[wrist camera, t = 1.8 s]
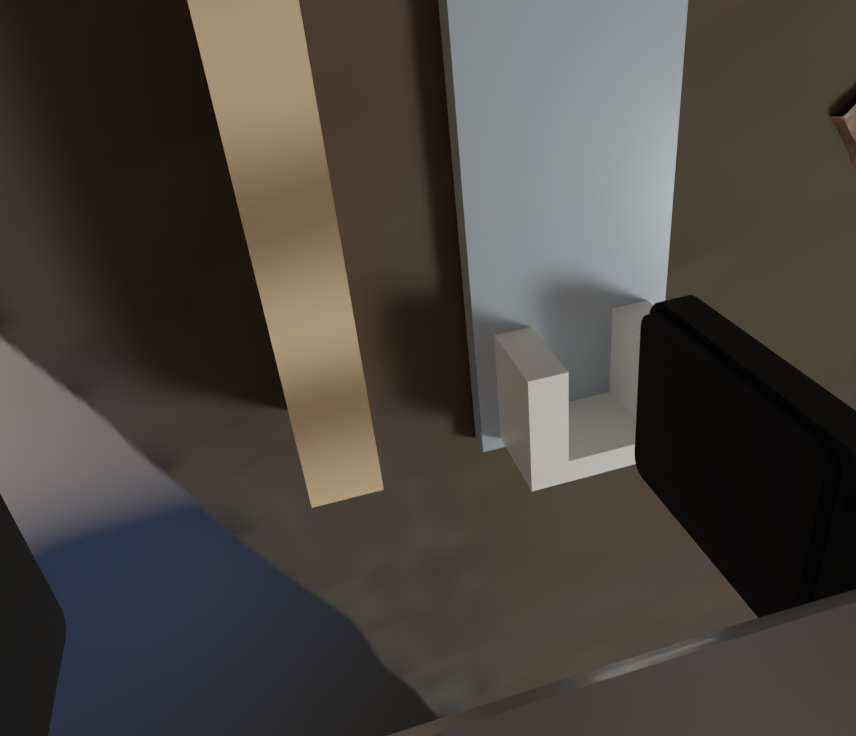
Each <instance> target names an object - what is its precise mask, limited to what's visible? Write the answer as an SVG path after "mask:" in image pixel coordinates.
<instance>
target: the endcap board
mask: <svg viewBox="0 0 856 736" xmlns="http://www.w3.org/2000/svg"><path fill="white" fill-rule="evenodd" d="M438 4H439V16H440V28H441V39H442V51H443V63H444V74H445V86H446V98H447V109H448V121H449V133H450V144H451V156H452V168H453V179H454V191H455V202H456V214H457V226H458V237H459V249H460V261H461V272H462V284H463V296H464V307H465V319H466V331H467V342H468V354H469V365H470V377H471V389H472V400H473V412H474V424H475V435H476V440H477V442H478V444H479V445H480V447H481V449H482V451H483V452H486V451H490V450H494V449H498V448H502V447H506V448H507V450H508V452H509V453H510V455H511V457H512V458H513V460H514V462H515V464H516V465H517V467H518V469H519V470H520V472H521V474H522V475H523V477H524V479H525V481H526V482H527V484H528V486H529V487H530V489H531V491H535V490H539V489H543V488H547V487H550V486H554V485H558V484H562V483H566V482H569V481H573V480H577V479H581V478H584V477H588V476H592V475H596V474H599V473H603V472H607V471H611V470H614V469H618V468H622V467H626V466H629V465H633V464H636V462H635V454H634V453H635V432H636V412H637V391H638V370H639V350H640V329H641V321H642V319H643V317H644V316H645V315H648V314H650V310H651V308H652V306H653V305H654V304H655V303H658V302H662V301H665V296H666V283H667V270H668V257H669V244H670V231H671V218H672V205H673V191H674V178H675V165H676V152H677V139H678V126H679V113H680V100H681V86H682V73H683V60H684V47H685V34H686V21H687V8H688V0H438Z"/></svg>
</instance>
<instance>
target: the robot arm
mask: <svg viewBox="0 0 856 736" xmlns="http://www.w3.org/2000/svg"><path fill="white" fill-rule="evenodd" d="M634 454H635V462H636V466H637V469H638V471H639V473H640V475H641V477H642V478H643V479H644V481H645V482H646V483H647V484H648V485H649V487H650V488H651V489H652V490H653V492H654V493H655V494H656V495H657V496H658V498H659V499H660V500H661V501H662V502H663V504H664V505H665V506H666V507H667V508H668V510H669V511H670V512H671V513H672V514H673V516H674V517H675V518H676V519H677V520H678V522H679V523H680V524H681V525H682V526H683V528H684V529H685V530H686V531H687V532H688V534H689V535H690V536H691V537H692V538H693V540H694V541H695V542H696V543H697V544H698V546H699V547H700V548H701V549H702V550H703V552H704V553H705V554H706V555H707V556H708V558H709V559H710V560H711V561H712V562H713V564H714V565H715V566H716V567H717V569H718V570H719V571H720V572H721V573H722V575H723V576H724V577H725V578H726V579H727V581H728V582H729V583H730V584H731V585H732V587H733V588H734V589H735V590H736V591H737V593H738V594H739V595H740V596H741V597H742V599H743V600H744V601H745V602H746V603H747V605H748V606H749V607H750V608H751V609H752V611H753V612H754V613H755V614H756V615H757V617H758V618H757V619H754V620H750V621H747V622H744V623H741V624H738V625H735V626H731V627H728V628H725V629H722V630H719V631H715V632H712V633H709V634H706V635H703V636H699V637H696V638H693V639H690V640H687V641H684V642H680V643H677V644H674V645H671V646H668V647H664V648H661V649H658V650H655V651H652V652H649V653H645V654H642V655H639V656H636V657H633V658H629V659H626V660H623V661H620V662H617V663H614V664H610V665H607V666H604V667H601V668H598V669H594V670H591V671H588V672H585V673H582V674H579V675H575V676H572V677H569V678H566V679H563V680H560V681H557V682H554V683H550V684H547V685H544V686H541V687H538V688H535V689H532V690H528V691H525V692H522V693H519V694H516V695H513V696H510V697H507V698H503V699H500V700H497V701H494V702H491V703H488V704H485V705H482V706H478V707H475V708H472V709H469V710H466V711H463V712H460V713H457V714H453V715H450V716H447V717H444V718H441V719H438V720H435V721H432V722H429V723H426V724H422V725H419V726H416V727H413V728H410V729H407V730H404V731H400V732H398V733H394V734H391V735H388V736H856V411H855V410H854V409H852V408H851V407H850V406H848V405H847V404H845V403H844V402H843V401H841V400H840V399H838V398H837V397H836V396H834V395H833V394H831V393H830V392H829V391H827V390H826V389H824V388H823V387H822V386H820V385H819V384H817V383H816V382H815V381H813V380H812V379H810V378H809V377H808V376H806V375H805V374H803V373H802V372H801V371H799V370H798V369H796V368H795V367H794V366H792V365H791V364H789V363H788V362H787V361H785V360H784V359H782V358H781V357H780V356H778V355H777V354H775V353H774V352H773V351H771V350H770V349H768V348H767V347H766V346H764V345H763V344H761V343H760V342H759V341H757V340H756V339H754V338H753V337H752V336H750V335H749V334H747V333H746V332H745V331H743V330H742V329H740V328H739V327H738V326H736V325H735V324H733V323H732V322H731V321H729V320H728V319H726V318H725V317H724V316H722V315H721V314H719V313H718V312H717V311H715V310H714V309H712V308H711V307H710V306H708V305H707V304H705V303H704V302H703V301H701V300H700V299H698V298H697V297H695V296H693V295H688V296H683V297H679V298H675V299H670V300H666V301H662V302H658V303H655V304H654V305H653V306H652V308H651V310H650V314H648V315H645V316H644V317H643V319H642V321H641V329H640V350H639V370H638V391H637V412H636V432H635V453H634ZM65 637H66V624H65V618H64V615H63V612H62V609H61V607H60V606H59V603H58V601H57V600H56V598H55V596H54V594H53V592H52V590H51V588H50V587H49V585H48V583H47V581H46V579H45V577H44V575H43V573H42V571H41V570H40V568H39V566H38V564H37V562H36V560H35V558H34V556H33V555H32V553H31V551H30V549H29V547H28V546H27V543H26V542H25V540H24V538H23V536H22V534H21V532H20V530H19V528H18V526H17V525H16V523H15V521H14V519H13V517H12V515H11V513H10V512H9V510H8V508H7V506H6V504H5V502H4V500H3V498H2V496H1V494H0V736H48V732H49V726H50V721H51V715H52V709H53V704H54V699H55V693H56V687H57V681H58V677H59V671H60V665H61V660H62V654H63V649H64V644H65Z"/></svg>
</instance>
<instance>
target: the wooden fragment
mask: <svg viewBox="0 0 856 736" xmlns="http://www.w3.org/2000/svg"><path fill="white" fill-rule="evenodd" d="M830 117H831V119H832V120H833V122H834V123H835V124H836V126H837V128H838V130H839V133H840V134H841V136H842V139H843V141H844V143H845V145H846V147H847V149H848V151H849V154H850V157H851V161H852V164H853V167H854V169H855V170H856V105H854V106H853V107H852V109H851V110H850V111H849V112H848V113H846V114H845V115H844V116H830Z"/></svg>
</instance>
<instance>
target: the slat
mask: <svg viewBox="0 0 856 736" xmlns="http://www.w3.org/2000/svg"><path fill="white" fill-rule="evenodd" d="M187 1H188V5H189V10H190V14H191V18H192V22H193V26H194V30H195V34H196V38H197V42H198V46H199V50H200V54H201V58H202V62H203V66H204V71H205V75H206V79H207V83H208V87H209V91H210V95H211V99H212V103H213V107H214V111H215V115H216V119H217V123H218V127H219V132H220V136H221V140H222V144H223V148H224V152H225V156H226V160H227V164H228V168H229V172H230V176H231V180H232V184H233V188H234V193H235V197H236V201H237V205H238V209H239V213H240V217H241V221H242V225H243V229H244V233H245V237H246V241H247V245H248V249H249V254H250V258H251V262H252V266H253V270H254V274H255V278H256V282H257V286H258V290H259V294H260V298H261V302H262V306H263V310H264V315H265V319H266V323H267V327H268V331H269V335H270V339H271V343H272V347H273V351H274V355H275V359H276V363H277V367H278V371H279V376H280V380H281V384H282V388H283V392H284V396H285V400H286V404H287V408H288V412H289V416H290V420H291V424H292V428H293V432H294V437H295V441H296V445H297V449H298V453H299V457H300V461H301V465H302V469H303V473H304V477H305V481H306V485H307V489H308V493H309V498H310V502H311V506H312V508H313V507H317V506H321V505H325V504H329V503H333V502H337V501H341V500H345V499H349V498H352V497H356V496H360V495H364V494H368V493H372V492H376V491H380V490H384V489H383V483H382V477H381V472H380V466H379V460H378V454H377V448H376V443H375V437H374V431H373V425H372V420H371V414H370V408H369V402H368V397H367V391H366V385H365V379H364V374H363V368H362V362H361V356H360V351H359V345H358V339H357V333H356V327H355V322H354V316H353V310H352V304H351V299H350V293H349V287H348V281H347V276H346V270H345V264H344V258H343V253H342V247H341V241H340V235H339V230H338V224H337V218H336V212H335V206H334V201H333V195H332V189H331V183H330V178H329V172H328V166H327V160H326V155H325V149H324V143H323V137H322V132H321V126H320V120H319V114H318V109H317V103H316V97H315V91H314V85H313V80H312V74H311V68H310V62H309V57H308V51H307V45H306V39H305V34H304V28H303V22H302V16H301V11H300V5H299V0H187Z"/></svg>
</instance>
